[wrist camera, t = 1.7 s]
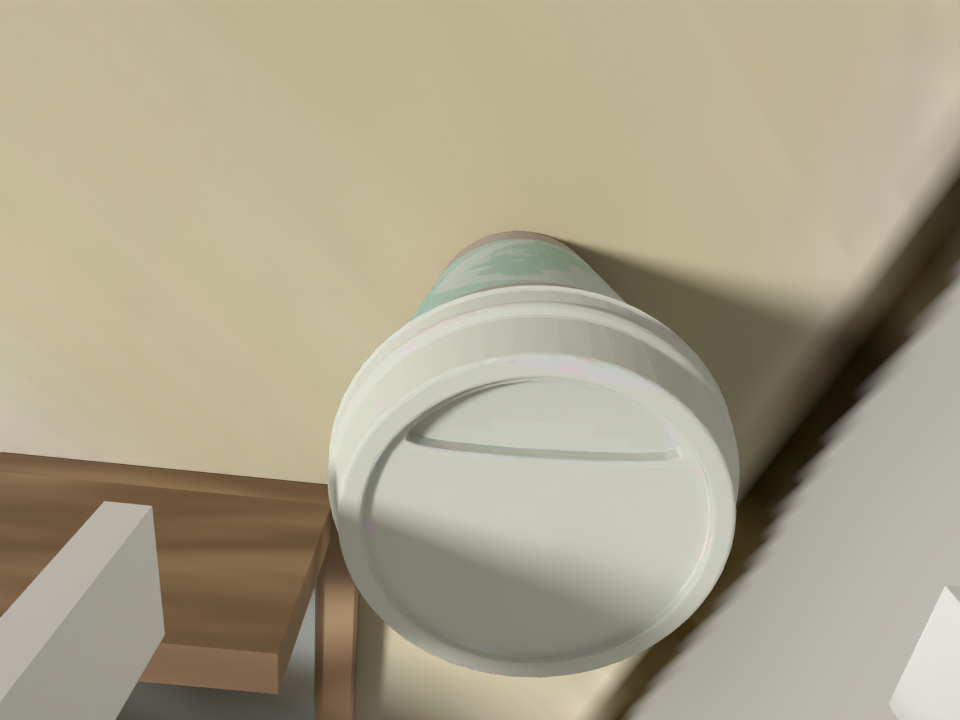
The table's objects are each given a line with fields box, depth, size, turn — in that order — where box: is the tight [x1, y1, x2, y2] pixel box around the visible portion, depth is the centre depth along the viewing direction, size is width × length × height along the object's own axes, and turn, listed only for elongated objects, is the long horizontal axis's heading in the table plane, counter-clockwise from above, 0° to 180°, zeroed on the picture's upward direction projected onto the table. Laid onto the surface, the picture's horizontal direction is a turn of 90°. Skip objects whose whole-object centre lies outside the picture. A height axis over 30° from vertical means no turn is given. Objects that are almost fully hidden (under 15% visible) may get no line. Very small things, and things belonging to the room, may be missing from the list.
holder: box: [0, 452, 359, 720], centre depth 26 cm, size 16×14×8 cm
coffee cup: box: [328, 231, 740, 677], centre depth 18 cm, size 9×9×12 cm
